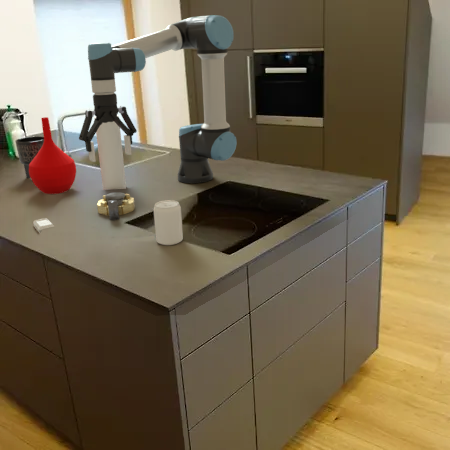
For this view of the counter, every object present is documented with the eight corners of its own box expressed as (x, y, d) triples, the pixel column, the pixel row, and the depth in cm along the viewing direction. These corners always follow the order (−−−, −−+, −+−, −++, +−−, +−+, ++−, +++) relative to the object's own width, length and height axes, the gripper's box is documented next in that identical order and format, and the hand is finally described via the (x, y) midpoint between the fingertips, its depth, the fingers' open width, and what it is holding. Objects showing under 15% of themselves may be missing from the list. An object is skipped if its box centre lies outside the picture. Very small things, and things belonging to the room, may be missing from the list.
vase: (60, 182, 226) (49, 113, 215) (88, 188, 216) (78, 115, 205) (23, 193, 212) (10, 119, 201) (51, 200, 202) (39, 123, 191)
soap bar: (40, 235, 168) (38, 227, 167) (33, 227, 175) (32, 219, 174) (55, 231, 170) (54, 224, 170) (48, 224, 178) (47, 216, 177)
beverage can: (156, 237, 162) (153, 200, 158) (182, 235, 163) (180, 198, 158) (155, 247, 155) (152, 209, 150) (183, 245, 155) (180, 207, 151)
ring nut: (100, 205, 189) (98, 189, 187) (135, 202, 190) (133, 187, 188) (95, 221, 173) (93, 204, 171) (132, 218, 174) (131, 201, 172)
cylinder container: (121, 192, 209) (112, 116, 198) (99, 191, 211) (90, 117, 200) (129, 185, 217) (122, 113, 207) (108, 185, 219) (100, 113, 209)
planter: (15, 181, 230) (8, 141, 224) (36, 173, 241) (29, 135, 235) (39, 183, 226) (32, 142, 219) (58, 175, 237) (52, 136, 230)
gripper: (131, 89, 179) (136, 150, 186) (63, 96, 164) (71, 162, 171) (143, 90, 173) (148, 153, 181) (73, 97, 158) (82, 165, 165)
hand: (111, 157), depth 176 cm, fingers open, 13 cm apart
